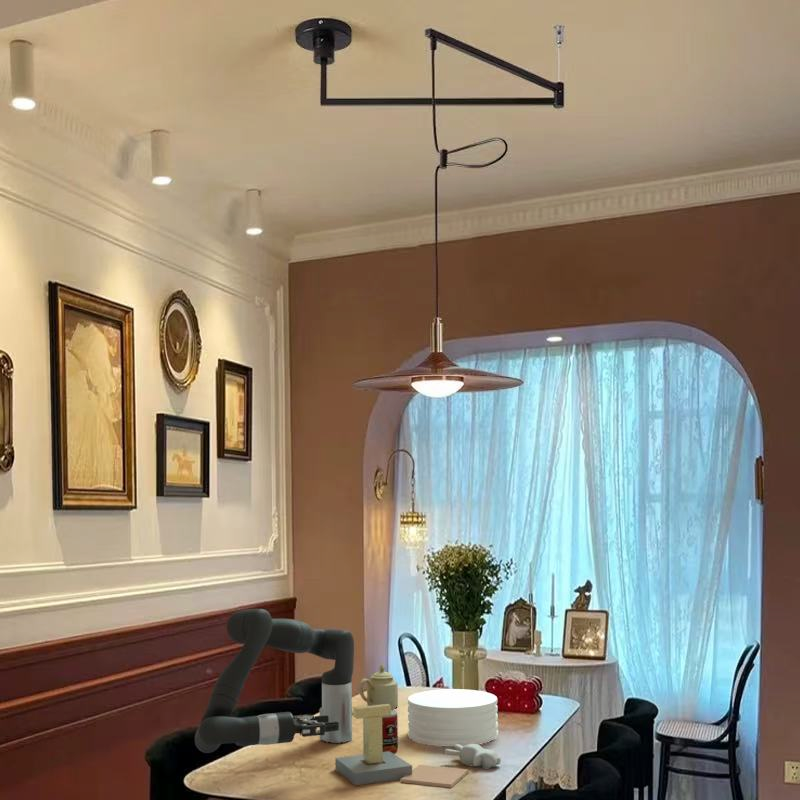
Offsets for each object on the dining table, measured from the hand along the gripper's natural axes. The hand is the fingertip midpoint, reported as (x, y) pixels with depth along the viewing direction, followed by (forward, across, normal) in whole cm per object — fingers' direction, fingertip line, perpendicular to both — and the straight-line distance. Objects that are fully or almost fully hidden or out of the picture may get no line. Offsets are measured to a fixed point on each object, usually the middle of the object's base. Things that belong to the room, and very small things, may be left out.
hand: (333, 722), depth 246 cm
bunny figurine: (+40, -4, +14) cm, 42 cm away
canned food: (+23, +20, +14) cm, 34 cm away
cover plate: (+12, 0, +14) cm, 18 cm away
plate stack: (+49, +28, +14) cm, 58 cm away
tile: (+25, -10, +14) cm, 30 cm away
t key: (+12, 0, +14) cm, 18 cm away
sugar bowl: (+42, +74, +14) cm, 86 cm away
